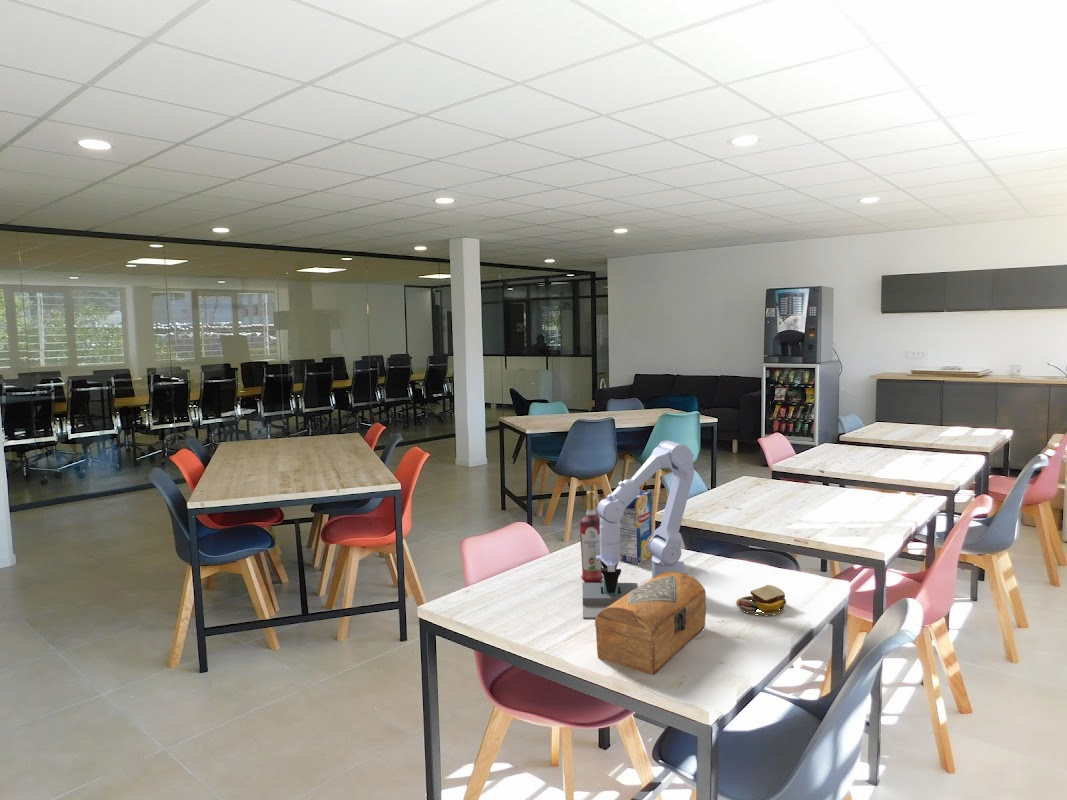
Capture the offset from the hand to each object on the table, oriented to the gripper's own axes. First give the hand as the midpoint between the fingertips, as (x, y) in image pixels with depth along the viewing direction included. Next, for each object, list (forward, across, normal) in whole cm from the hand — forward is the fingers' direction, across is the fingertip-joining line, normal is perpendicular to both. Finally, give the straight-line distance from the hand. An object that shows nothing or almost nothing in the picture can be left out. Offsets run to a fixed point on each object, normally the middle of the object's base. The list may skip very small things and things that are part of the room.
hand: (610, 587), depth 196 cm
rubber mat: (+3, +10, -4) cm, 11 cm away
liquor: (+3, -14, -5) cm, 15 cm away
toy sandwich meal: (+4, +6, +41) cm, 41 cm away
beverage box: (+3, -36, +10) cm, 38 cm away
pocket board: (+3, 0, 0) cm, 3 cm away
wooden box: (+4, +28, +10) cm, 30 cm away
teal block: (+3, 0, 0) cm, 3 cm away
